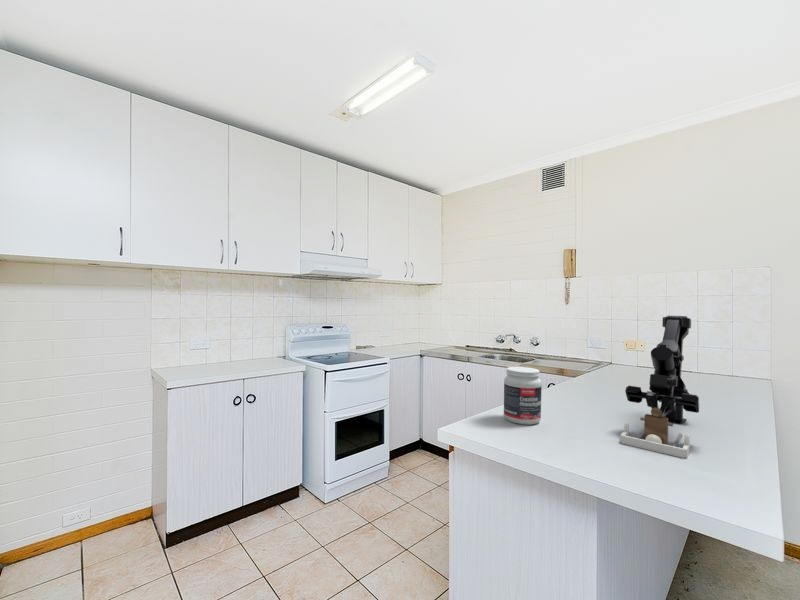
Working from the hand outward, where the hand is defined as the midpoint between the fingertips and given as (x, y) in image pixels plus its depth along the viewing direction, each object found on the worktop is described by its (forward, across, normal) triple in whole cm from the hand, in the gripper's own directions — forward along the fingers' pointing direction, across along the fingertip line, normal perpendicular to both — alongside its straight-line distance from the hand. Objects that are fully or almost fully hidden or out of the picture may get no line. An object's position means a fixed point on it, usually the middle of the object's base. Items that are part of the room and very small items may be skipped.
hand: (657, 421), depth 114 cm
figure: (+6, 0, +3) cm, 6 cm away
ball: (+7, 0, -1) cm, 7 cm away
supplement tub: (+10, -40, 0) cm, 41 cm away
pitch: (+4, 0, +6) cm, 7 cm away
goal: (+9, 0, +1) cm, 9 cm away
